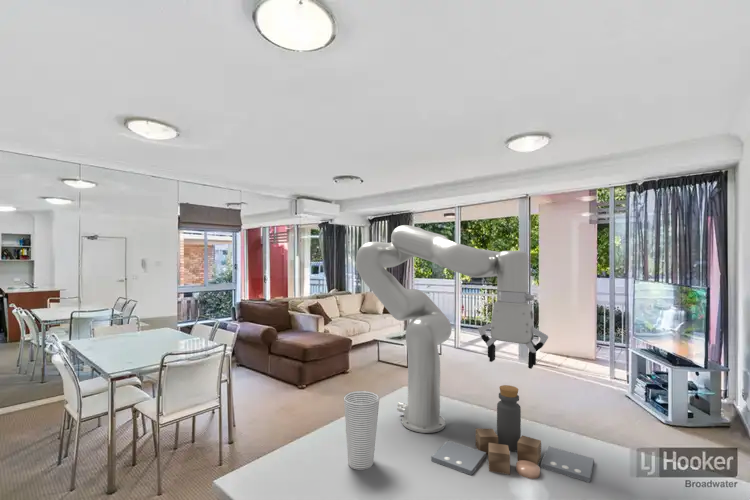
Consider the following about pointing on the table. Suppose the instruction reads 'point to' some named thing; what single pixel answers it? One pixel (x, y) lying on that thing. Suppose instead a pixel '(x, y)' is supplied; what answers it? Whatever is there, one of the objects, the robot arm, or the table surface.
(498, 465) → the block
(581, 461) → the pad three
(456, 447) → the pad two
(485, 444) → the block
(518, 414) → the bottle
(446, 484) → the table surface
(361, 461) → the cup
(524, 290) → the robot arm
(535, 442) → the block
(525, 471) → the peach glossy rounded part
